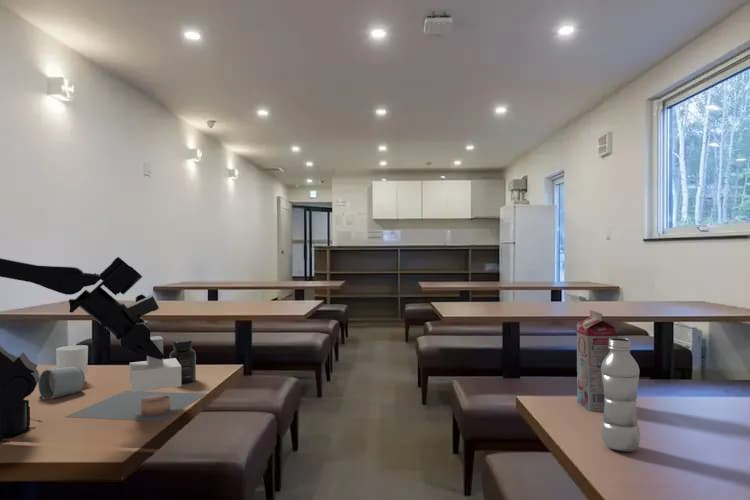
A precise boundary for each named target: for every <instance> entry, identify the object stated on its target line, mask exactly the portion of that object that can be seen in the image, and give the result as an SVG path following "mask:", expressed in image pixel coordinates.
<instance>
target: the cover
mask: <svg viewBox="0 0 750 500" xmlns="http://www.w3.org/2000/svg"><path fill="white" fill-rule="evenodd" d="M150 339H151V340H152V341H153V342H154V344H155V345H156V346H157V347H158V349H159V350H160V351H161V352H162V354H163V355H164V338H163V337H162V335H156V336H155V335H154V336H150ZM129 385H130V391H132V392H139V391H144V392H148V391H154V390H162V389H170V388H177V387H182V384H181V365H180V364H179V362H178V361H177V359H176V358H172V359H170V358H164V357H163V358H162V359H161V360H160V359H156V358H153V357H149V356H146V360H144V361H143V360H141V361H135V362H134V361H133V362H129Z"/></svg>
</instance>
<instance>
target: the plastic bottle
mask: <svg viewBox="0 0 750 500" xmlns="http://www.w3.org/2000/svg"><path fill="white" fill-rule="evenodd" d="M608 349H610V352H609V354H608V355H607V356H606V357H605V359H604V360H603V362H602V365H601V372H602V379H603V386H604V396H605V397H604V401H605V405H604V411H603V418H602V423H601V429H600V434H601V440H602V442H603V443H604V445H605V446H606V447H608V448H609V449H612V450H614V451H615V450H616V451H620V452H633V451H636V450H637V449H638V448H639V446H640V443H641V431H640V427H639V424H638V423H639V422H638V413H637V412H638V411H637V398H638V395H637V394H638V385H639V379H640V370H641V369H640V367H639V364H638V362H637V361H636V360H635V358H634V357H633V356H632V354H631V351H632V347H631V339H630V338H624V337H617V338H609V346H608Z"/></svg>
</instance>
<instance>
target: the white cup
mask: <svg viewBox="0 0 750 500" xmlns="http://www.w3.org/2000/svg"><path fill="white" fill-rule="evenodd" d="M55 355H56V356H55V360H56V368H63V367H70V366H71V367H78V368H80V369H81V370H82V372H83V374H84V378H85V382H84V383H86V382H87V372H88V360H89V359H88V357H89V345H83V344H77V345H66V346H59V347H57V348H56V349H55Z"/></svg>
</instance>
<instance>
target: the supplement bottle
mask: <svg viewBox="0 0 750 500" xmlns="http://www.w3.org/2000/svg"><path fill="white" fill-rule="evenodd" d="M192 347H193V341H192V339H189V338H187V339H185V338H183V339H176V340H173V347H172V348H173V350H172V351H171V352H170V353H169V359H172V358H176V359H177V361H178V362H179V364H180V365H181V385H189V384H191V383H195V382H196V381H197V368H196V367H197V361H196V360H197V356H196V351H195V350H194V349H193V348H192Z"/></svg>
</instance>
